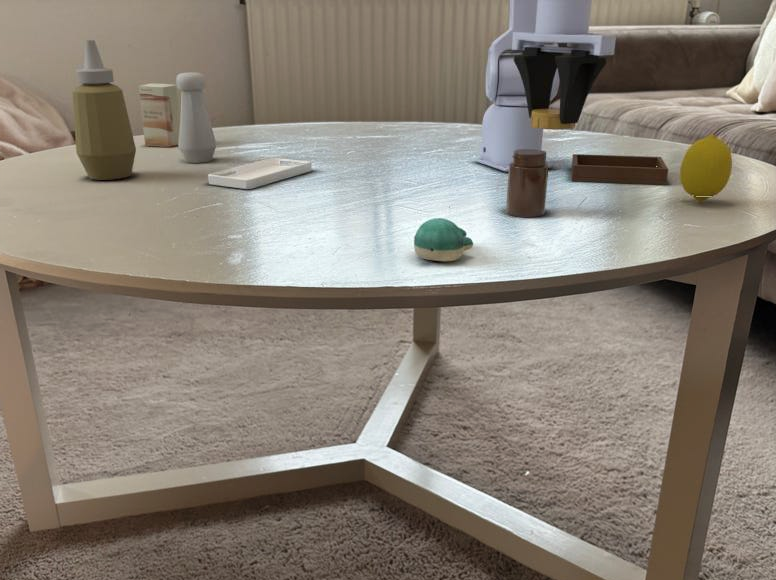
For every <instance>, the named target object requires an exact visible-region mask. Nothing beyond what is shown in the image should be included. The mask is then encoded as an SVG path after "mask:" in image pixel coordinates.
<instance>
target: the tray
mask: <svg viewBox="0 0 776 580" xmlns="http://www.w3.org/2000/svg"><path fill="white" fill-rule="evenodd" d="M656 166H657V167H656ZM668 174H669V168H668V166H667V165H666V163H665V161H664V160H663V158H662V157H661V156H646V155H645V156H641V155H640V156H639V155H614V154H613V155H612V154H586V153H585V154H583V153H581V154H580V153H579V154H578V153H573V154H572V160H571V182H582V183H583V182H585V183H586V182H587V183H609V184H632V185H633V184H634V185H635V184H636V185H656V186H657V185H660V186H666V185H667V180H668Z"/></svg>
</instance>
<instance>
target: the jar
mask: <svg viewBox="0 0 776 580" xmlns="http://www.w3.org/2000/svg"><path fill="white" fill-rule="evenodd" d="M512 158H513V162H512V163H510V164H509V172H508V174H507V187H506V188H507V189H506V190H507V191H506V202H505V203H506V205H505V213H506V214H507V215H510V216H514V217H519V218H537V217H541V216H544V214H545V211H546V203H547V192H548V181H549V180H548V179H549V170H550V168H549V165H548V164H546V163H547V151H546V150H542V149H541V150H536V149H520V150H515V151H514V154H513V155H512Z"/></svg>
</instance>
